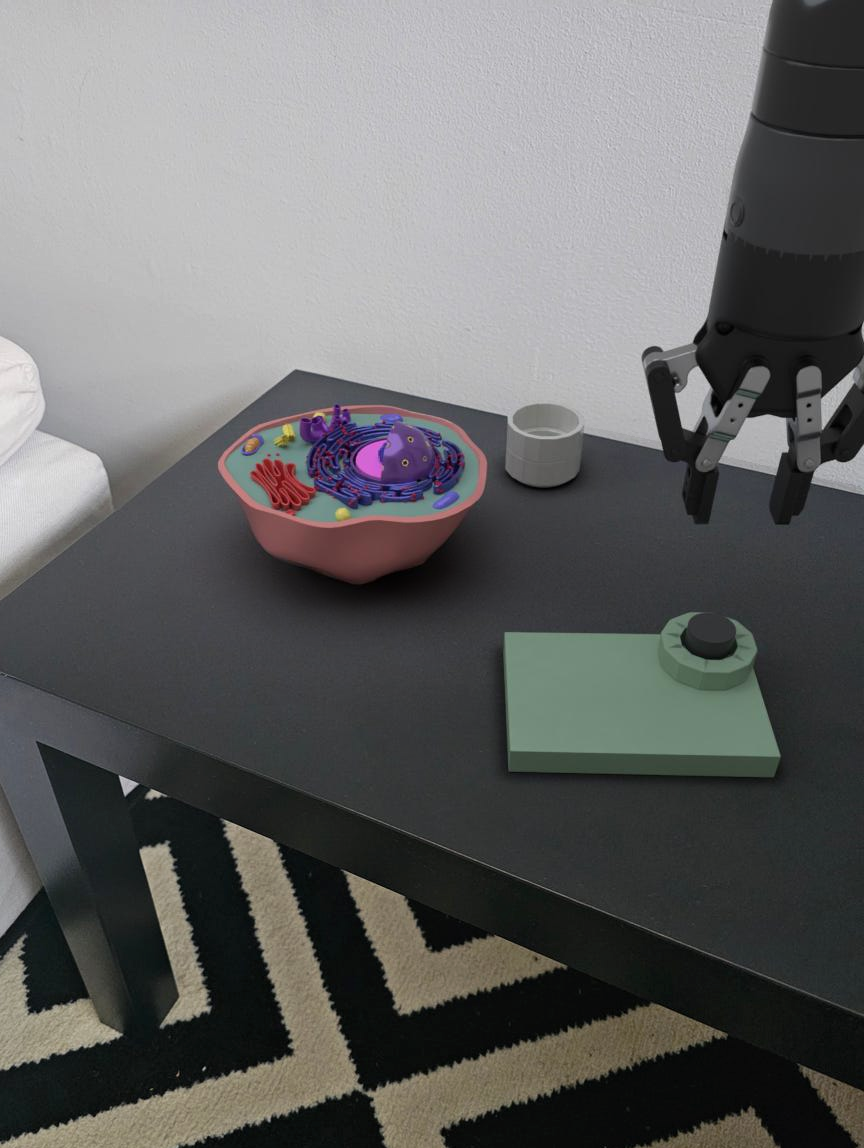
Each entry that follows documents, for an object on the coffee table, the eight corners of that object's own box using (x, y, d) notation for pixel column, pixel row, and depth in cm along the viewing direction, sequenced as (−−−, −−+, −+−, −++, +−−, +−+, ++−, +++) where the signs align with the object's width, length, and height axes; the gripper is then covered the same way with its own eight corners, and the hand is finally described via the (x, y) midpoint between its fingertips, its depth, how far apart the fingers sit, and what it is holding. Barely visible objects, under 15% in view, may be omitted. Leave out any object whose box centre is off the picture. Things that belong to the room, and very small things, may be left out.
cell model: (276, 479, 90) (262, 357, 82) (504, 510, 85) (511, 384, 78) (196, 598, 78) (171, 468, 70) (457, 642, 73) (461, 508, 66)
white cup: (575, 452, 92) (580, 401, 88) (581, 491, 87) (587, 439, 84) (503, 451, 92) (506, 401, 89) (505, 491, 87) (508, 438, 84)
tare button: (726, 630, 68) (731, 612, 67) (736, 661, 66) (740, 643, 65) (680, 630, 69) (684, 611, 68) (688, 660, 66) (692, 642, 65)
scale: (736, 651, 72) (746, 612, 69) (774, 777, 63) (787, 737, 61) (502, 648, 72) (505, 609, 70) (508, 772, 64) (511, 732, 62)
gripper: (934, 190, 52) (844, 482, 63) (646, 193, 53) (608, 481, 64) (992, 246, 46) (882, 556, 58) (668, 249, 47) (622, 554, 58)
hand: (738, 515), depth 61 cm, fingers open, 4 cm apart
